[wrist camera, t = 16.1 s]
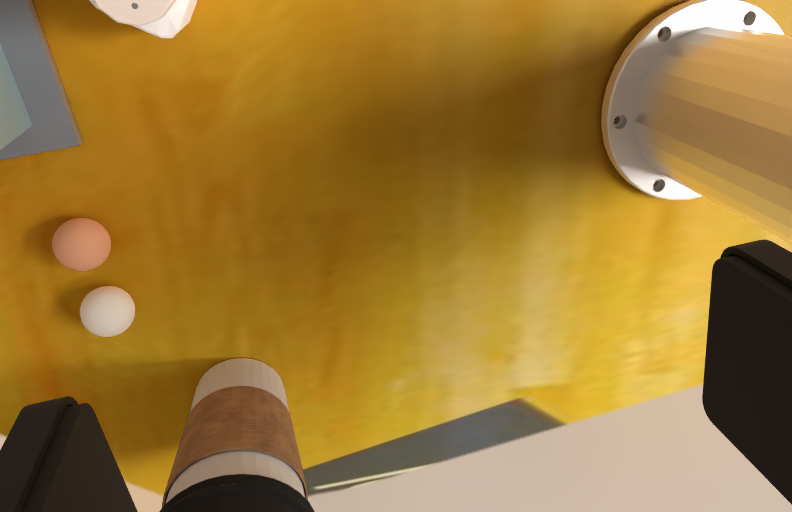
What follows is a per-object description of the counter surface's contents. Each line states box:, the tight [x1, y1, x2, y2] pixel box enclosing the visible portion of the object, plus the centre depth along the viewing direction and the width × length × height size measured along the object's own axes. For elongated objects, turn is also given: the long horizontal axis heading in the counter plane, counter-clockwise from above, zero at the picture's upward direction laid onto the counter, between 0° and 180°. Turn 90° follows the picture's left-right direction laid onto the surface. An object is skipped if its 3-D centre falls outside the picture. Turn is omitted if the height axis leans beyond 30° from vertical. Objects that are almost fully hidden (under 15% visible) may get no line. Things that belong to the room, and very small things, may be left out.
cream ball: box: [80, 286, 135, 337], centre depth 39 cm, size 3×3×3 cm
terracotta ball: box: [52, 218, 111, 271], centre depth 37 cm, size 3×3×3 cm
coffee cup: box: [160, 358, 314, 512], centre depth 38 cm, size 8×8×15 cm
